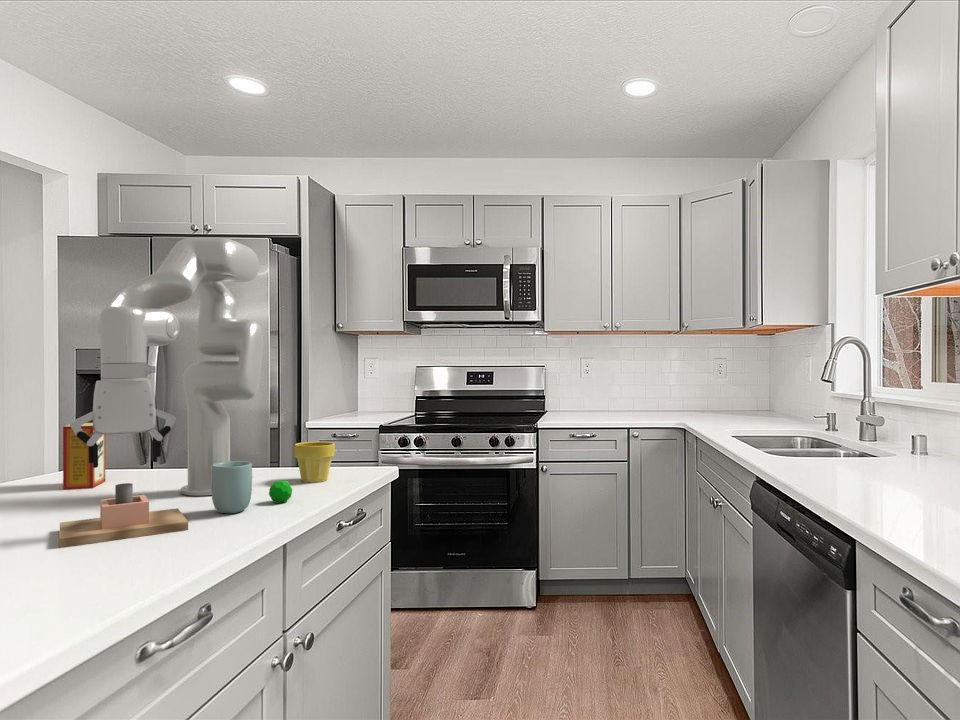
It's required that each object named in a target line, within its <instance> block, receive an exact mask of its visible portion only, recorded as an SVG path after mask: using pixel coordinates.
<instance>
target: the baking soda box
mask: <svg viewBox="0 0 960 720" xmlns="http://www.w3.org/2000/svg"><path fill="white" fill-rule="evenodd" d="M81 429H82V430H83V432H84V433H86V434H87V435H88V436H91V435H92V434H93V432H94V431H95V430H94V428H93V422H87V423H85V424H83V425H81ZM96 445H98V467H97V468H94V467H93V463H89V451H88V445H87V444H86V443H84V442H83V441H82V440H80V439H79V438H78V437H77V436H76V434H75V433H74V431H73V430H72V428H71V427H70V423H69V424H67V425H64V426H62V466H63V467H62V471H63V472H62V473H63V474H62V484H63V485H62V490H63V491H64V490H66V491H67V490H69V491H70V490H81V489H82V490H86V489H94V488H96V487H98V486H99V485H102V484H103V483H105V482H106V435H102V436H101V437H100V439H99V440H98V441H97V442H96Z"/></svg>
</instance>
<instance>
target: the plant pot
mask: <svg viewBox="0 0 960 720" xmlns="http://www.w3.org/2000/svg"><path fill="white" fill-rule="evenodd" d="M335 445H336V444H335V443H334V442H333V441H332V442H329V441H306V442H298V443H295V444H294V448H293V449H294V457H295V458H296V460H297V464H298V469H299V475H300V478H301V481H302V482H304V483H321V482H326V481H328V478H329V475H330V474H329V473H330V469H331V463H332V459H333V457H335V454H336V453H335V452H336V451H335V450H336V446H335Z"/></svg>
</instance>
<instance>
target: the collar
mask: <svg viewBox="0 0 960 720" xmlns="http://www.w3.org/2000/svg"><path fill="white" fill-rule="evenodd" d="M99 501H100V504H99V505H100V508H99V509H100V510H99V511H100V513H99V515H100V516H99V518H100V521H101V526H102V529H110V528H118V527H125V526H133V525H141V524H148V523H149V512H150V501H149V499H148V497H147V496H146V495H145V494H141V495H133V503H125V504H116V505H115V497H114V498H103V499H100V500H99Z"/></svg>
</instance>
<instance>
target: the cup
mask: <svg viewBox="0 0 960 720" xmlns="http://www.w3.org/2000/svg"><path fill="white" fill-rule="evenodd" d="M252 487H253V464H252V462H251V461H246V460H233V461H232V460H230V461H229V462H221V463H216V464H213V465H212V467H211V491H212V495H211V500H212V504H213V506H214V509H215V510H216V511H217V512H219V513H221V514H227V515H228V514H229V515H230V514H238V513H241V512H243V511H244V510H246V509H247V508H248V507H249V505H250V504H251V503H250V502H251V499H252V491H253V489H252Z"/></svg>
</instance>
